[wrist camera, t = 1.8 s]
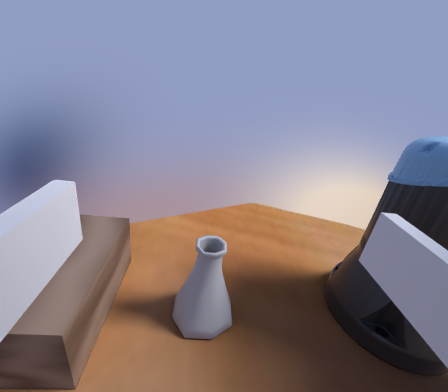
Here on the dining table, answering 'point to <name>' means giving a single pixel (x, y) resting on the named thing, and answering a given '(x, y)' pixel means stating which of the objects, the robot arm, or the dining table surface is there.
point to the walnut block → (68, 311)
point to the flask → (204, 294)
